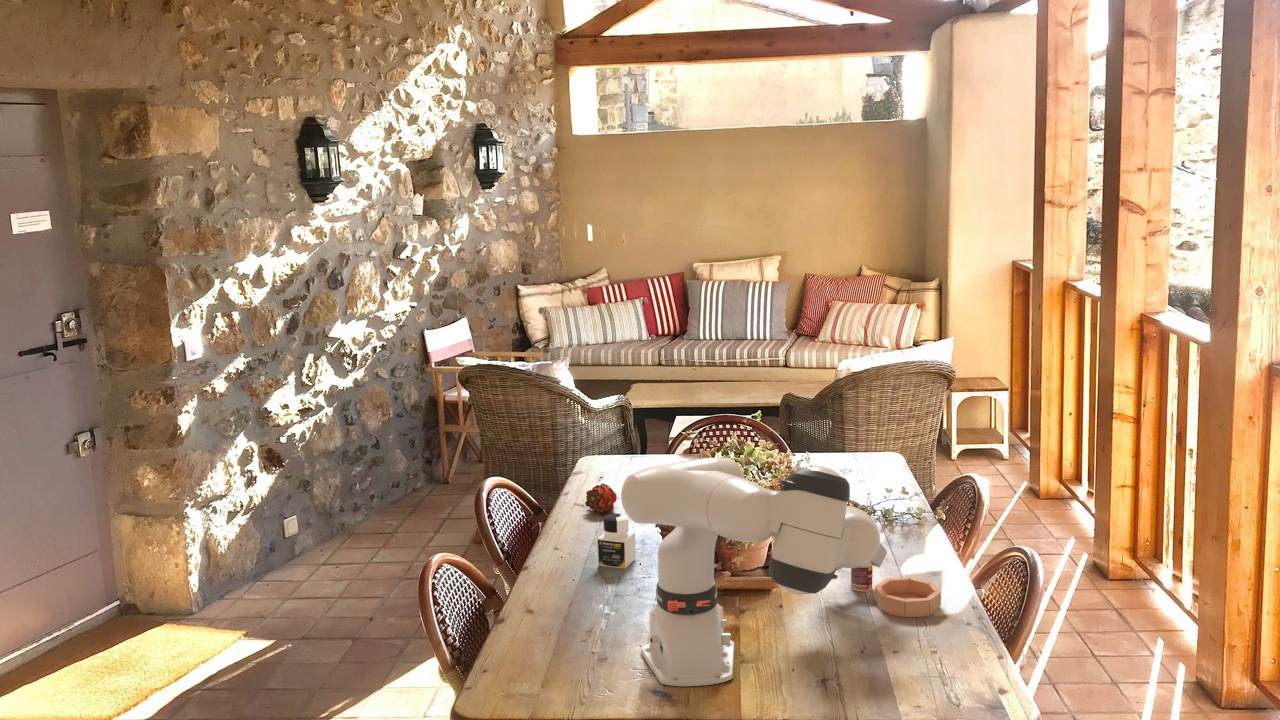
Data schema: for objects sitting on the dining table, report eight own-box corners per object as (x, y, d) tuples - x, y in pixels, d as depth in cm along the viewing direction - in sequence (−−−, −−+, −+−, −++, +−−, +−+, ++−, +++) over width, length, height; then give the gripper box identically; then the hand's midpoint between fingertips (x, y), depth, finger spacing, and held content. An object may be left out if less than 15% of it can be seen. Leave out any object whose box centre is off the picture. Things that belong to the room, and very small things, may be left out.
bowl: (947, 615, 233) (947, 598, 232) (887, 619, 232) (887, 602, 231) (926, 592, 246) (926, 576, 245) (869, 595, 245) (869, 579, 244)
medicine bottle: (598, 566, 268) (596, 519, 265) (609, 556, 274) (608, 510, 272) (625, 569, 265) (623, 521, 263) (636, 559, 271) (634, 512, 269)
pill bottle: (872, 592, 246) (872, 557, 245) (850, 591, 247) (851, 556, 246) (872, 584, 251) (872, 549, 249) (851, 583, 252) (851, 549, 250)
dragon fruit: (595, 524, 303) (601, 516, 315) (620, 506, 302) (625, 498, 314) (577, 499, 303) (583, 492, 315) (601, 481, 303) (607, 475, 314)
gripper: (790, 525, 246) (823, 556, 253) (856, 551, 229) (889, 583, 236) (805, 502, 248) (837, 533, 255) (871, 526, 231) (904, 558, 238)
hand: (863, 557), depth 245 cm, fingers open, 8 cm apart
